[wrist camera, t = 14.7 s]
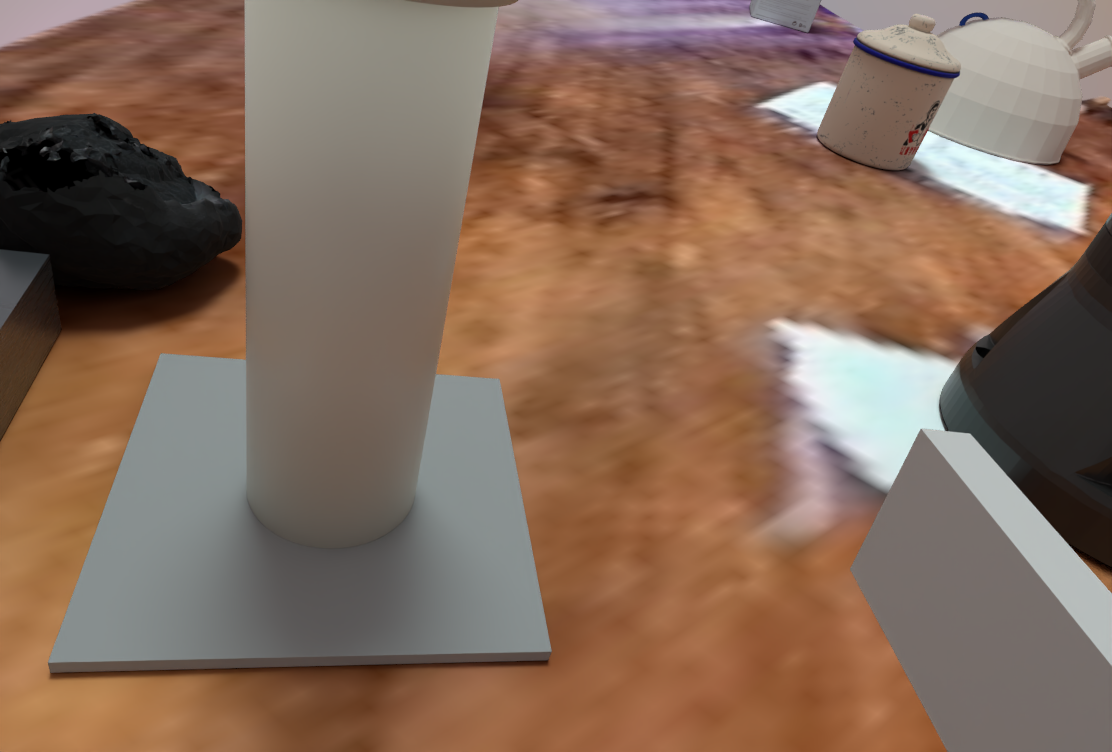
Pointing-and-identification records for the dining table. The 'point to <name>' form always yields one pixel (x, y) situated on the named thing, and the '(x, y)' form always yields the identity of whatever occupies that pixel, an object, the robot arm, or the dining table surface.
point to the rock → (106, 205)
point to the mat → (300, 549)
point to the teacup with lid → (889, 94)
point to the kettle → (1018, 85)
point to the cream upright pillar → (351, 248)
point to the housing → (24, 325)
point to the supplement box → (786, 12)
